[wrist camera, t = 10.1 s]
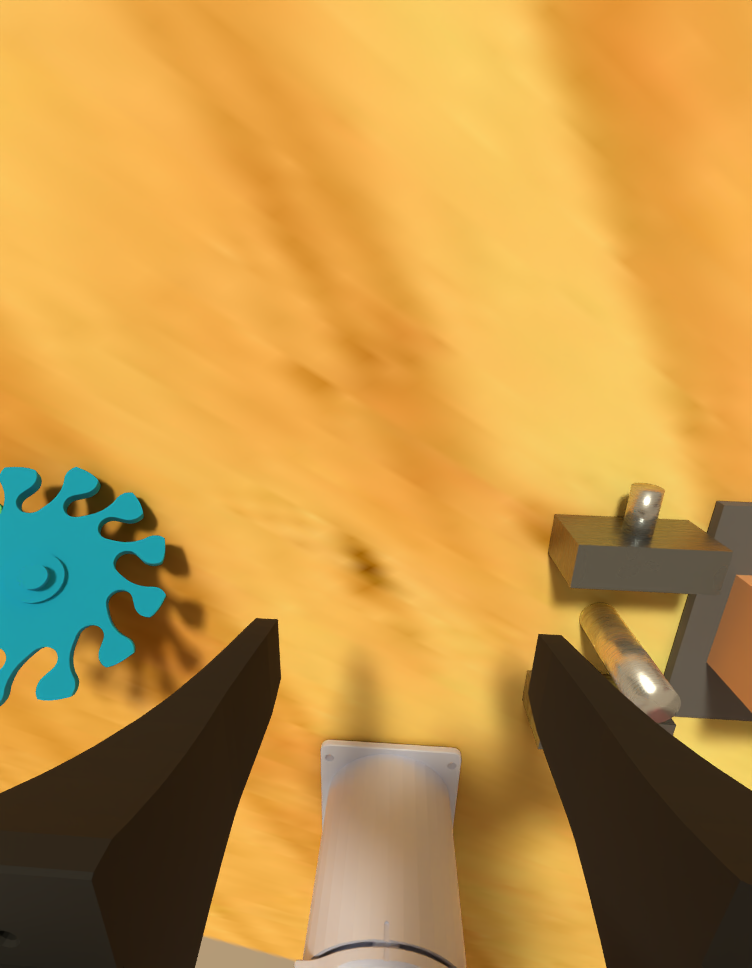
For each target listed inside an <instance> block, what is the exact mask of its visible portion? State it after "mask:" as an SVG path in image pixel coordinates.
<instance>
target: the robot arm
mask: <svg viewBox="0 0 752 968" xmlns="http://www.w3.org/2000/svg"><path fill="white" fill-rule="evenodd" d="M280 680H281V670H280V652H279V634H278V619H261V618H256V619H255V620H254V621H253V622H251V623H250V624H249V625H248V626H247V627H246V628H245V629H244V630H243V631H242V632H241V633H240V634H239V635H238V636H237V637H236V638H235V639H234V640H233V641H232V642H231V643H230V644H229V645H228V646H227V647H226V648H225V649H224V650H223V651H222V652H220V653H219V654H218V655H217V656H216V657H215V658H214V659H213V660H212V661H211V662H210V663H209V664H207V665H206V666H205V667H204V668H203V669H202V670H201V671H200V672H198V673H197V674H196V675H195V676H194V677H192V678H191V679H190V680H189V681H188V682H187V683H185V684H184V685H183V686H182V687H181V688H179V689H178V690H177V691H176V692H174V693H173V694H172V695H171V696H169V697H168V698H167V699H165V700H164V701H163V702H161V703H160V704H159V705H157V706H156V707H154V708H153V709H152V710H150V711H149V712H147V713H146V714H145V715H143V716H142V717H140V718H139V719H137V720H136V721H134V722H133V723H131V724H129V725H128V726H126V727H125V728H123V729H121V730H120V731H118V732H117V733H115V734H113V735H112V736H110V737H109V738H107V739H105V740H104V741H102V742H100V743H99V744H97V745H95V746H94V747H92V748H90V749H88V750H86V751H85V752H83V753H81V754H79V755H77V756H76V757H74V758H72V759H70V760H68V761H66V762H64V763H62V764H61V765H59V766H57V767H55V768H53V769H51V770H49V771H47V772H45V773H43V774H41V775H39V776H37V777H35V778H32V779H30V780H28V781H26V782H24V783H22V784H19V785H17V786H15V787H13V788H11V789H9V790H6V791H4V792H2V793H0V968H195V965H196V961H197V957H198V953H199V949H200V945H201V941H202V937H203V933H204V929H205V925H206V921H207V917H208V913H209V909H210V905H211V901H212V897H213V893H214V890H215V886H216V882H217V878H218V875H219V871H220V867H221V863H222V859H223V856H224V852H225V849H226V845H227V841H228V838H229V834H230V831H231V827H232V824H233V820H234V816H235V813H236V810H237V807H238V804H239V801H240V798H241V795H242V793H243V790H244V787H245V785H246V782H247V780H248V777H249V774H250V772H251V769H252V766H253V764H254V761H255V758H256V756H257V753H258V750H259V748H260V745H261V742H262V740H263V737H264V734H265V732H266V729H267V726H268V724H269V721H270V718H271V715H272V712H273V708H274V704H275V700H276V696H277V692H278V688H279V684H280ZM528 696H529V700H530V705H531V710H532V714H533V718H534V722H535V727H536V731H537V734H538V736H539V739H540V742H541V745H542V748H543V751H544V754H545V756H546V759H547V762H548V765H549V768H550V770H551V773H552V776H553V779H554V781H555V784H556V787H557V790H558V792H559V795H560V798H561V801H562V803H563V806H564V809H565V812H566V814H567V817H568V820H569V823H570V826H571V829H572V833H573V836H574V839H575V842H576V846H577V850H578V854H579V857H580V861H581V865H582V869H583V872H584V876H585V880H586V884H587V888H588V892H589V896H590V900H591V904H592V908H593V912H594V916H595V920H596V924H597V928H598V932H599V936H600V940H601V945H602V949H603V954H604V958H605V962H606V967H607V968H752V791H751V790H750V789H748V788H747V787H745V786H744V785H742V784H741V783H739V782H738V781H736V780H735V779H733V778H732V777H730V776H728V775H727V774H725V773H724V772H722V771H721V770H719V769H718V768H716V767H715V766H714V765H712V764H711V763H709V762H708V761H706V760H705V759H703V758H702V757H701V756H699V755H698V754H697V753H695V752H694V751H693V750H691V749H690V748H688V747H687V746H686V745H684V744H683V743H682V742H680V741H679V740H678V739H676V738H675V737H674V736H672V735H671V734H670V733H669V732H667V731H666V730H665V729H664V728H662V727H661V726H660V725H659V724H657V723H656V722H655V721H654V720H653V719H651V718H650V717H649V716H648V715H647V714H645V713H644V712H643V711H642V710H641V709H640V708H638V707H637V706H636V705H635V704H634V703H633V702H631V701H630V700H629V699H628V698H627V697H626V696H625V695H624V694H622V693H621V692H620V691H619V690H618V689H617V688H616V687H615V686H614V685H613V684H612V683H610V682H609V681H608V680H607V679H606V678H605V677H604V676H603V675H602V674H601V673H600V672H599V671H598V670H597V669H596V668H595V667H594V666H593V665H592V664H591V663H590V662H589V661H588V660H586V659H585V658H584V657H583V656H582V655H581V654H580V653H579V652H578V651H577V650H576V649H575V648H574V647H573V646H572V645H571V644H570V643H569V642H568V641H567V640H566V639H565V638H564V637H563V636H561V635H547V634H538V640H537V646H536V651H535V657H534V662H533V668H532V673H531V679H530V684H529V690H528ZM460 767H461V753H460V751H459V750H458V749H456V748H453V747H437V746H422V745H406V744H391V743H375V742H360V741H345V740H326V741H324V742H323V743H322V746H321V789H322V837H321V844H320V850H319V857H318V863H317V870H316V876H315V883H314V889H313V896H312V902H311V909H310V915H309V922H308V928H307V935H306V941H305V948H304V954H303V960H296V961H295V964H294V968H467V966H466V956H465V946H464V936H463V926H462V917H461V907H460V897H459V887H458V877H457V867H456V858H455V848H454V838H453V824H454V816H455V808H456V800H457V792H458V783H459V775H460Z"/></svg>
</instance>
